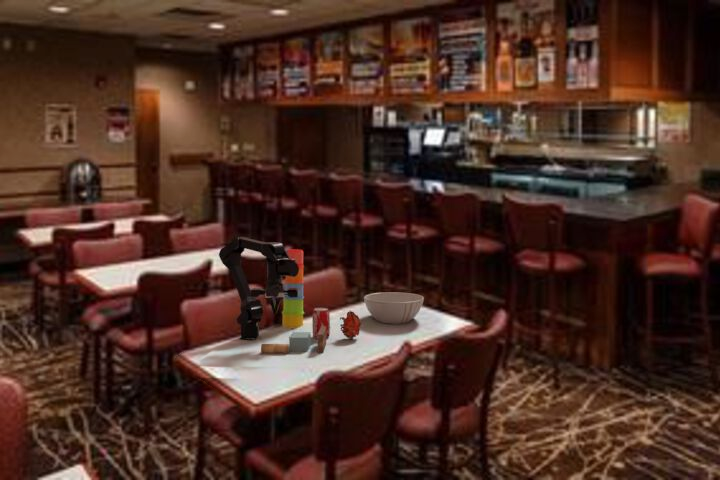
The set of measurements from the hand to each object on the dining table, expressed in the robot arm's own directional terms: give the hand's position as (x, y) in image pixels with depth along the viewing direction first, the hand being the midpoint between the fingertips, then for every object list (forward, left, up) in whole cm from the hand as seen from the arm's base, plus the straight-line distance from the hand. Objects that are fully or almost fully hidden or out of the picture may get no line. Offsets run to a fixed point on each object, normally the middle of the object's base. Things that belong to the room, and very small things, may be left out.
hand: (275, 314), depth 267 cm
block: (+7, -6, -12) cm, 15 cm away
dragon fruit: (+29, +9, -12) cm, 33 cm away
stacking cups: (+3, +27, -12) cm, 30 cm away
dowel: (+2, -15, -10) cm, 18 cm away
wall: (+19, -6, -12) cm, 23 cm away
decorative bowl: (+47, +39, -12) cm, 62 cm away
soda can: (+17, +11, -12) cm, 24 cm away
